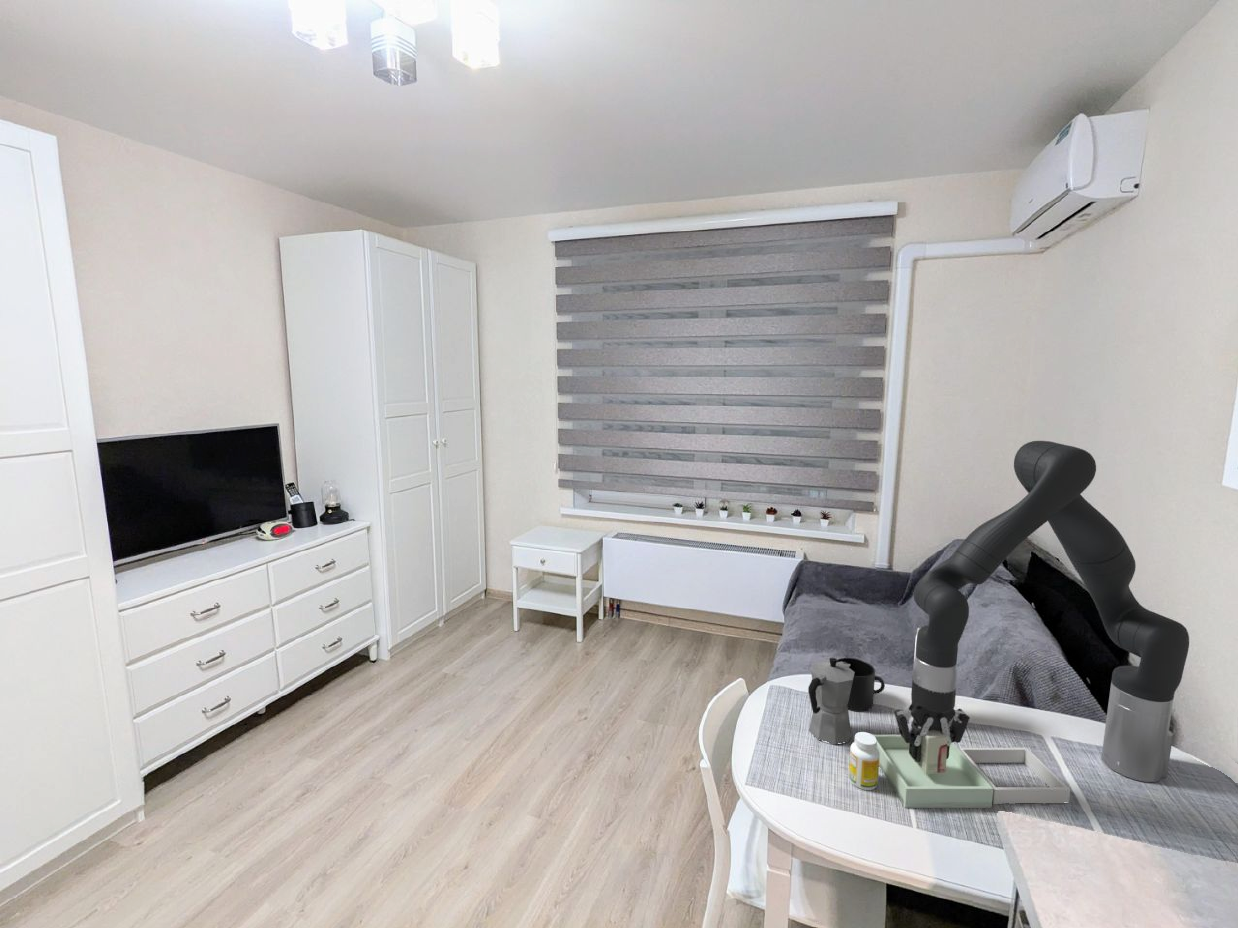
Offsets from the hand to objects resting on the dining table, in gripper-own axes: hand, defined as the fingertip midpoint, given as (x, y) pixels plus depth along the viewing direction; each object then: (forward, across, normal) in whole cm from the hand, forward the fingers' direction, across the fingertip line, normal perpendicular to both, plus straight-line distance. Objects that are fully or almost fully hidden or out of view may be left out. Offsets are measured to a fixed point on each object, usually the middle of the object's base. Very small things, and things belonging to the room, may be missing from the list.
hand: (928, 758), depth 114 cm
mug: (+4, +3, -27) cm, 28 cm away
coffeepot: (+4, +15, -14) cm, 21 cm away
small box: (+2, 0, 0) cm, 2 cm away
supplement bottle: (+4, +13, +1) cm, 14 cm away
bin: (+4, 0, 0) cm, 4 cm away
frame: (+4, -16, +1) cm, 16 cm away
